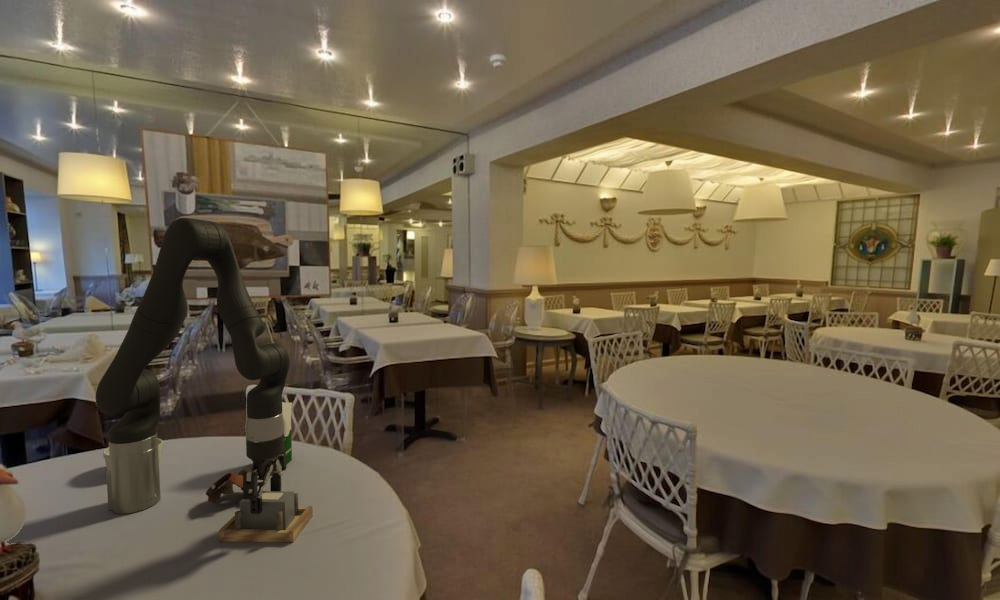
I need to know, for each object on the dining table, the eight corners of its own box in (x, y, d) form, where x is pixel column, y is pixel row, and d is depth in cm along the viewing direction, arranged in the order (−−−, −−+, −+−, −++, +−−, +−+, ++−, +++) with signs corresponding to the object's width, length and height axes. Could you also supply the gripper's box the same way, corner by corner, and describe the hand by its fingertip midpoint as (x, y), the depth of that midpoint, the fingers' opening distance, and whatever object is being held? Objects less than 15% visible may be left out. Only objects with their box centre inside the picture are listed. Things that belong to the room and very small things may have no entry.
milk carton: (267, 458, 137) (265, 394, 135) (296, 458, 137) (295, 395, 135) (251, 471, 128) (249, 403, 127) (282, 472, 128) (280, 404, 126)
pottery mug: (244, 513, 108) (223, 489, 106) (214, 526, 110) (192, 502, 108) (270, 478, 120) (251, 455, 117) (243, 490, 121) (224, 467, 119)
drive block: (240, 529, 100) (239, 501, 99) (251, 517, 104) (250, 490, 103) (285, 529, 100) (284, 501, 99) (294, 518, 104) (294, 491, 104)
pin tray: (219, 541, 97) (218, 514, 96) (245, 514, 107) (244, 490, 106) (293, 542, 97) (292, 516, 96) (312, 516, 107) (312, 492, 106)
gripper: (265, 421, 107) (266, 486, 108) (229, 446, 93) (231, 520, 94) (296, 422, 107) (297, 487, 108) (265, 447, 93) (266, 521, 94)
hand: (266, 502), depth 101 cm, fingers open, 8 cm apart
